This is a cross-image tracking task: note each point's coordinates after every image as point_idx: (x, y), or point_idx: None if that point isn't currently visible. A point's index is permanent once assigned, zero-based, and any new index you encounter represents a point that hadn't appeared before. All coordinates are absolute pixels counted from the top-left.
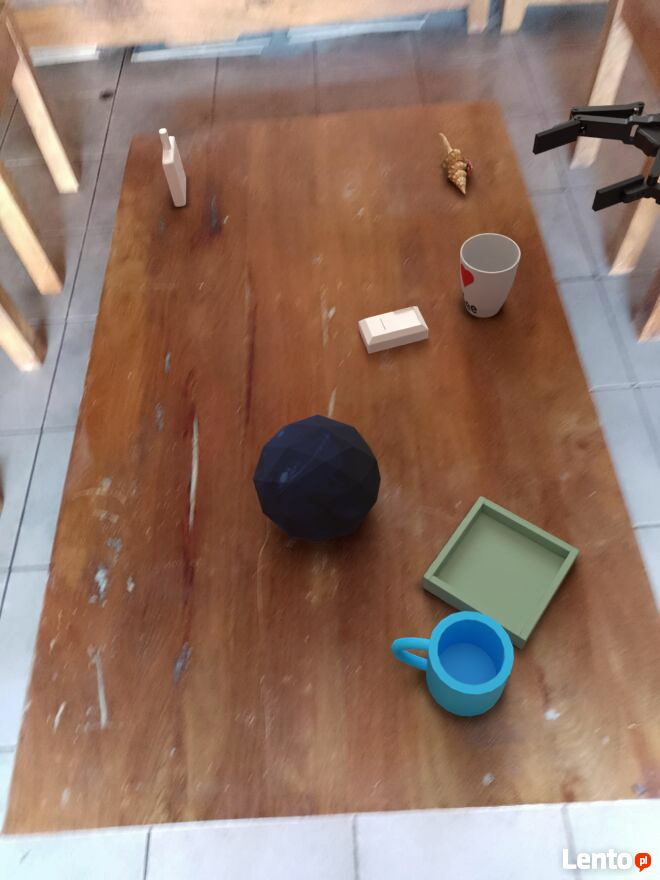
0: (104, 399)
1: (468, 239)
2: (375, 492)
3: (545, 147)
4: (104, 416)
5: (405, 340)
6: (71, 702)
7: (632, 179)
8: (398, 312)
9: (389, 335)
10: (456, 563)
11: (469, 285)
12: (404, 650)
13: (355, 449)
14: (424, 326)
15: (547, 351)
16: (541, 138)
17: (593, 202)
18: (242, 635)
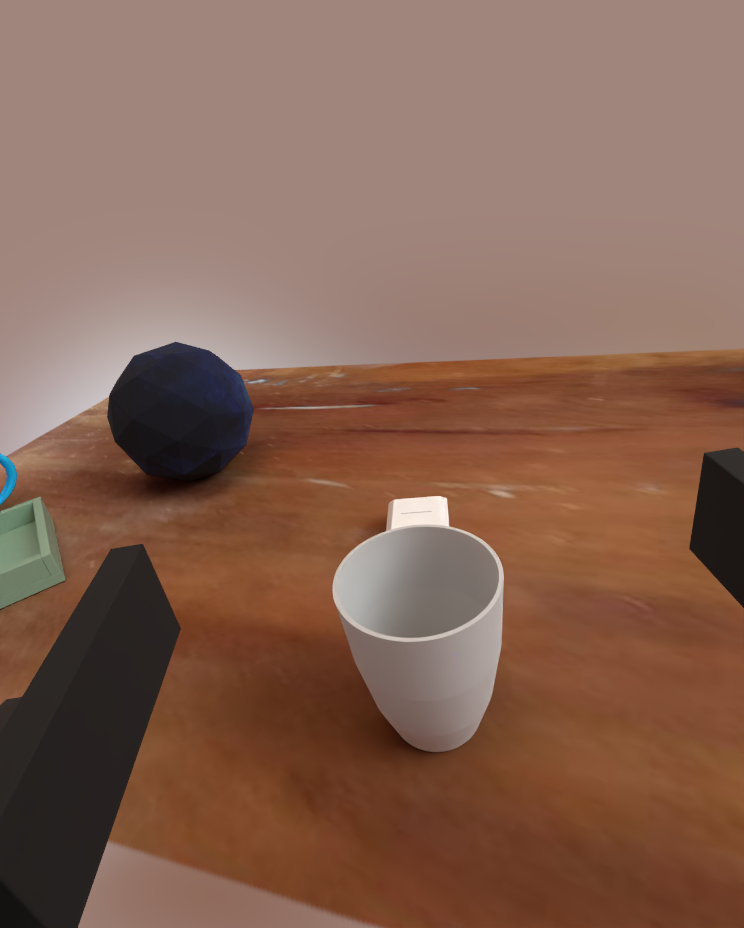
0: (434, 366)
1: (488, 546)
2: (117, 433)
3: (730, 566)
4: (413, 368)
5: None
6: None
7: (16, 747)
8: None
9: (389, 519)
10: (31, 538)
11: (392, 582)
12: (10, 482)
13: (133, 379)
14: None
15: (217, 801)
16: (715, 480)
17: (167, 601)
18: None
